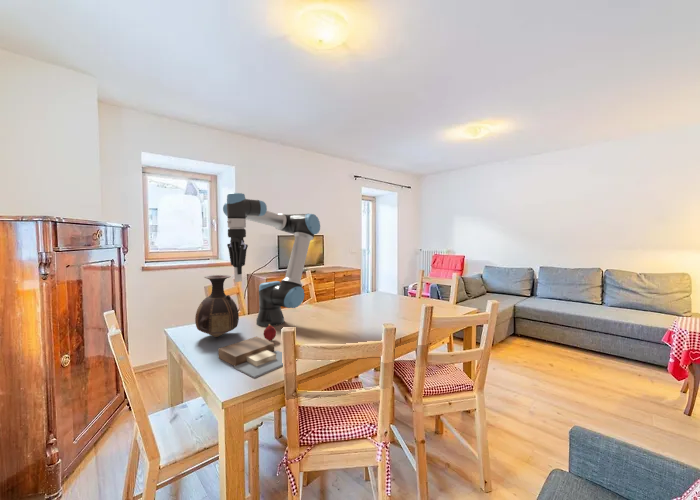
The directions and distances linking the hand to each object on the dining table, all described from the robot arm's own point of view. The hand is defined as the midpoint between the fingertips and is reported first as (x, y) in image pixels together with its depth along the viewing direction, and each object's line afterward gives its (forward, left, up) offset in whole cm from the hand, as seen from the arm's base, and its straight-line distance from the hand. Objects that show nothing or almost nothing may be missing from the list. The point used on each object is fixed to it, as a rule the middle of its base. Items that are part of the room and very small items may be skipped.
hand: (238, 281), depth 137 cm
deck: (+4, +12, -29) cm, 32 cm away
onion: (-12, +6, -30) cm, 33 cm away
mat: (+4, +26, -29) cm, 39 cm away
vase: (0, -19, -30) cm, 35 cm away
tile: (+4, +22, -29) cm, 37 cm away
